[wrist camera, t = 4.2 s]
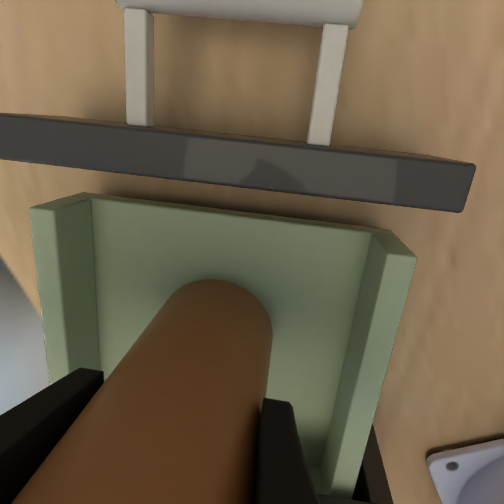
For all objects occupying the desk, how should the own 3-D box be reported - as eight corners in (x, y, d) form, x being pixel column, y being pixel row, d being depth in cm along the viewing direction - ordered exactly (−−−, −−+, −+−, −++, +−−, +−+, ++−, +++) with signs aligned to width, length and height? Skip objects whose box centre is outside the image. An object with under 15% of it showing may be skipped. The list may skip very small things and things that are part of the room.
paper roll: (243, 261, 11) (135, 524, 4) (290, 361, 12) (280, 727, 5) (140, 301, 12) (-113, 576, 5) (191, 390, 13) (52, 736, 6)
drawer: (52, -29, 11) (-45, -92, 8) (468, 1, 10) (547, -58, 7) (86, 417, 17) (39, 483, 14) (349, 463, 16) (362, 544, 13)
